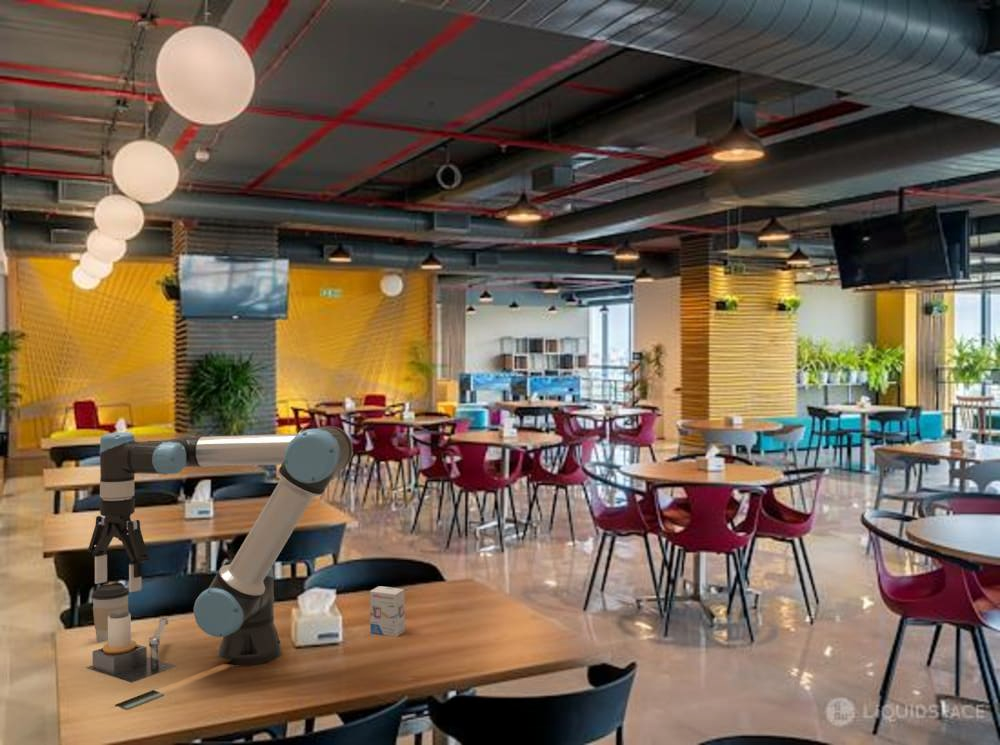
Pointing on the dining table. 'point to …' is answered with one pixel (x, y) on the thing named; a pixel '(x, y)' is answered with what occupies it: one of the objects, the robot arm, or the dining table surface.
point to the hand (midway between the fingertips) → (117, 586)
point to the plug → (119, 633)
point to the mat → (139, 700)
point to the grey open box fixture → (129, 663)
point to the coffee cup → (107, 606)
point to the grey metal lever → (158, 632)
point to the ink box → (387, 611)
